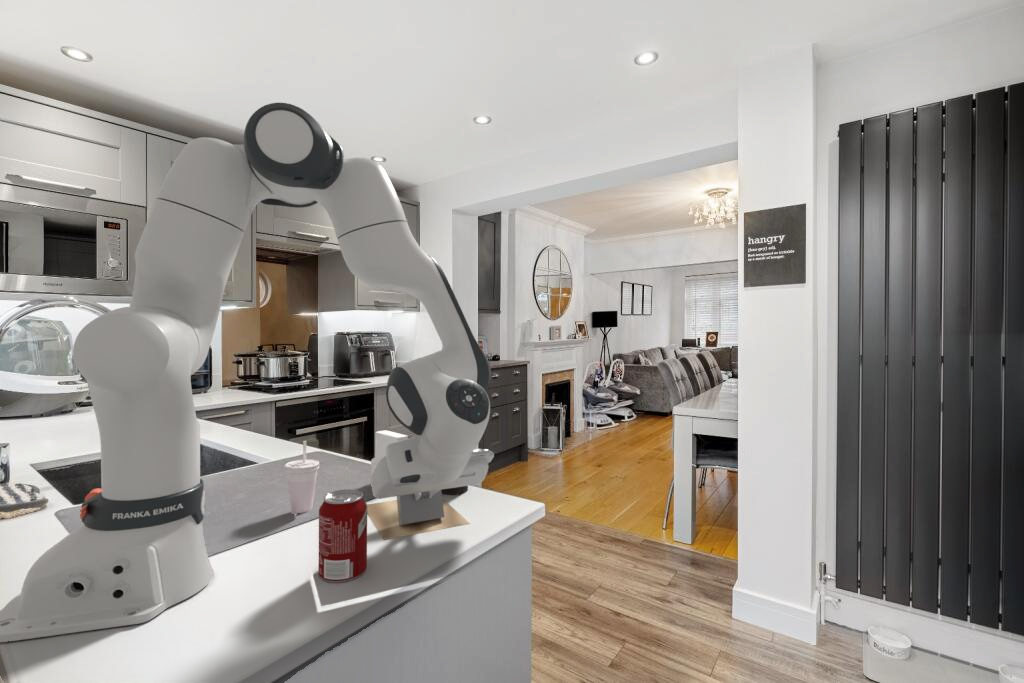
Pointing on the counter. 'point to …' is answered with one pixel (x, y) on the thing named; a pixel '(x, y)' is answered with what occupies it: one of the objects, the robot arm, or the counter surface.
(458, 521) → the mat
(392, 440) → the cylinder with rectangular tab
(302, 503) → the smoothie
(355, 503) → the soda can
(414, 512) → the tile
